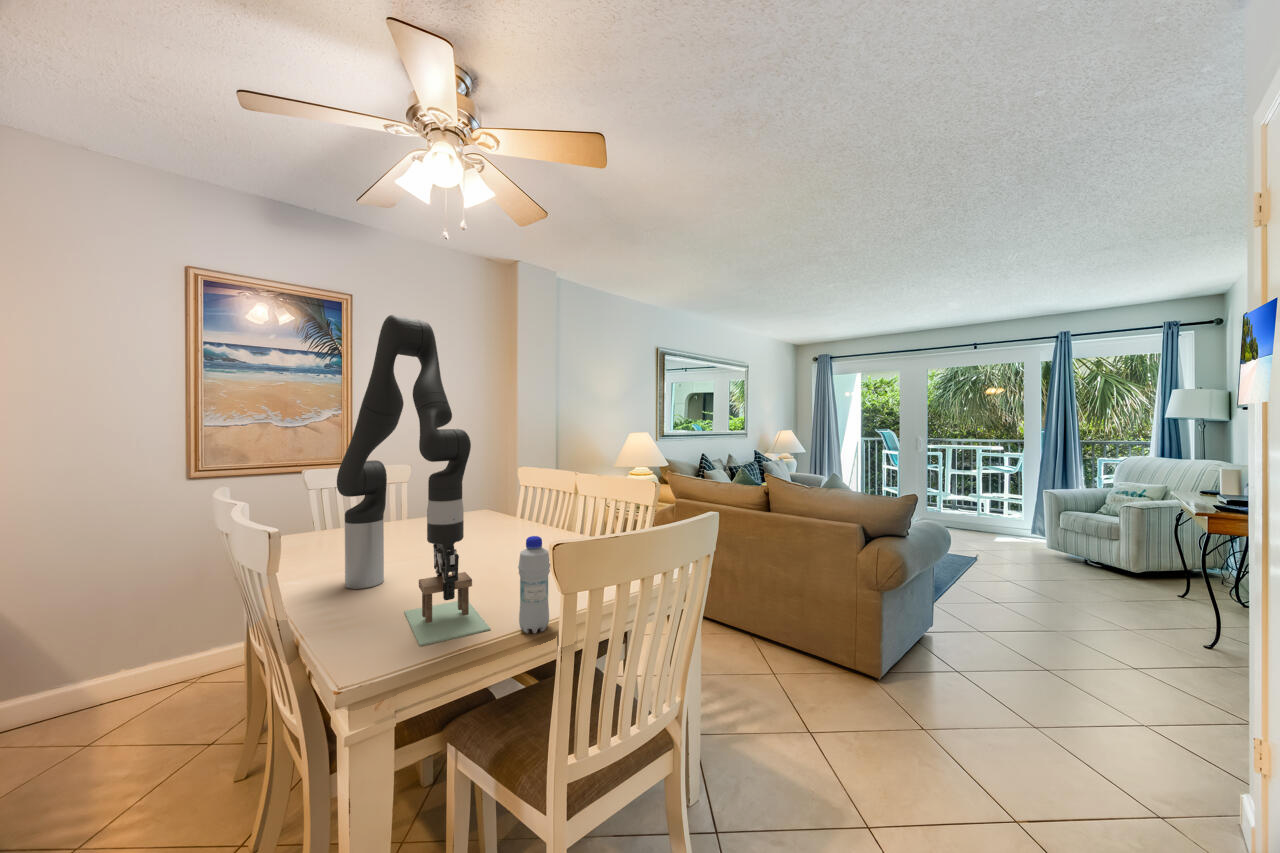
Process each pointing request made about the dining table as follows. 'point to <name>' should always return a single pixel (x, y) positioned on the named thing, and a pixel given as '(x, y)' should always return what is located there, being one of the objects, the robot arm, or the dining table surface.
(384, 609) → the dining table surface
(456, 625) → the mat
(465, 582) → the stool
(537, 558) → the bottle
